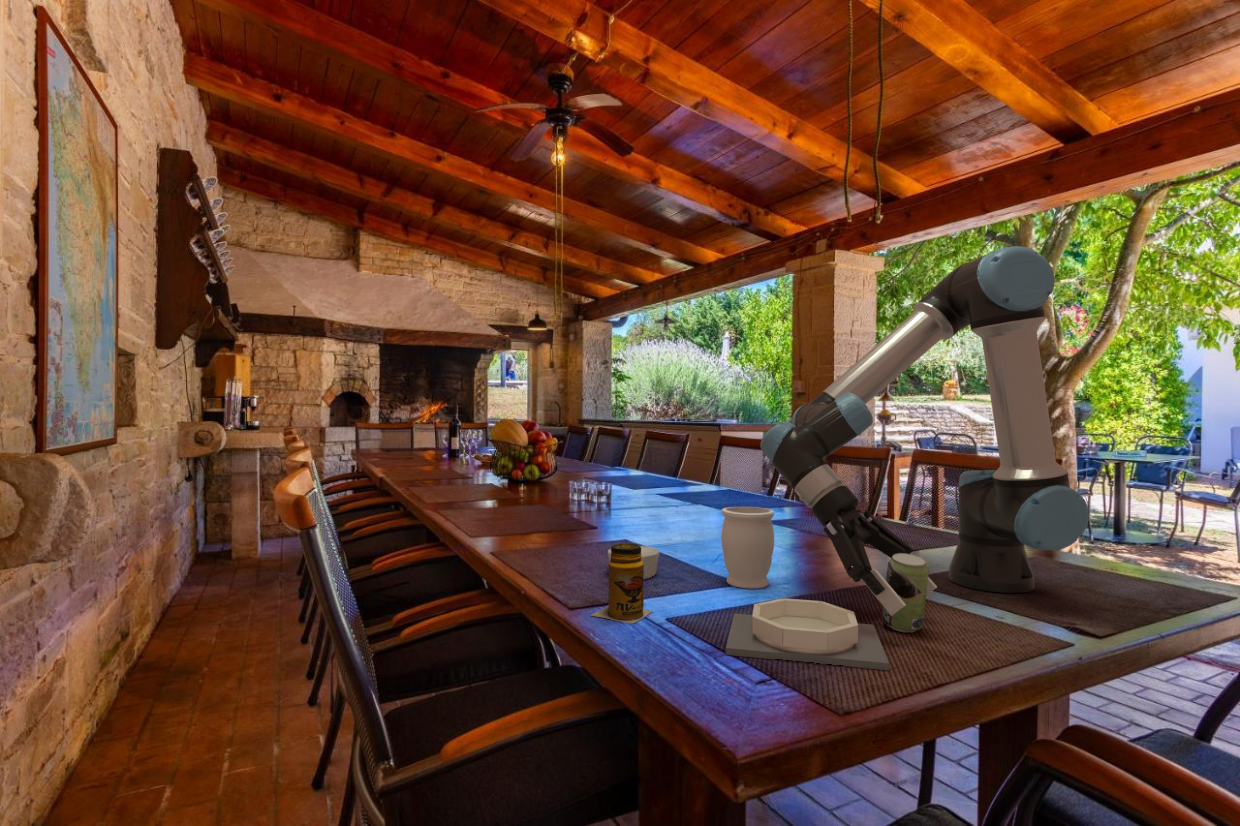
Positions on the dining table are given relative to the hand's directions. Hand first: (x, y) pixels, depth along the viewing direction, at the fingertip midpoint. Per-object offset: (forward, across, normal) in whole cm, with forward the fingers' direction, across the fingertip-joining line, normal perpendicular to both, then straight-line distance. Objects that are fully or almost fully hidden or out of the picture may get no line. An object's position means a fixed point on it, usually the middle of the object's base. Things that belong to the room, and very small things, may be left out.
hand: (915, 601), depth 102 cm
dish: (-5, +17, -10) cm, 20 cm away
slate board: (-4, +16, -11) cm, 20 cm away
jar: (-21, -5, -28) cm, 36 cm away
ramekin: (-36, +6, -43) cm, 57 cm away
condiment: (-24, +26, -32) cm, 48 cm away
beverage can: (+2, 0, -5) cm, 6 cm away
